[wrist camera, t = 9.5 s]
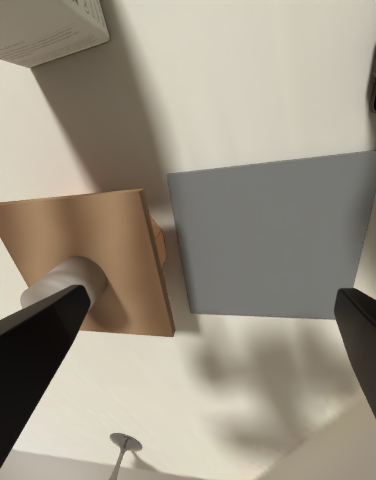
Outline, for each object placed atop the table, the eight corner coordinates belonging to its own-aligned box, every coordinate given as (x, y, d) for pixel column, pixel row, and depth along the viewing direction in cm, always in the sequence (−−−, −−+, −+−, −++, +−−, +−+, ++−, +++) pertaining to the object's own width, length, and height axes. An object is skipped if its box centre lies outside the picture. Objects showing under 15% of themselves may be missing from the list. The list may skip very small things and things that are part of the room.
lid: (143, 188, 14) (105, 213, 10) (175, 329, 20) (159, 383, 16) (-8, 203, 17) (-85, 227, 13) (57, 322, 23) (17, 365, 19)
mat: (381, 149, 15) (385, 150, 14) (343, 315, 21) (345, 319, 21) (168, 173, 18) (166, 174, 18) (191, 309, 24) (190, 313, 24)
